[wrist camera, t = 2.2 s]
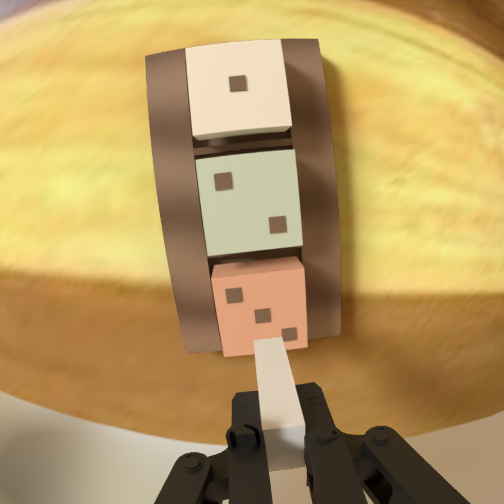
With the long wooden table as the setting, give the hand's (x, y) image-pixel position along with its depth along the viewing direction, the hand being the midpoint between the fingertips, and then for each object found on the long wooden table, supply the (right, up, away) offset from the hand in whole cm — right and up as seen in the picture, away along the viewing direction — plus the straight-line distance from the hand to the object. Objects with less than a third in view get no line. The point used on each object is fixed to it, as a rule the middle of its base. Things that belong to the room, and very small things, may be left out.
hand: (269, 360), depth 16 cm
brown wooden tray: (-1, +10, +8) cm, 13 cm away
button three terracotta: (0, +2, +8) cm, 8 cm away
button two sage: (-1, +9, +6) cm, 11 cm away
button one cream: (-2, +17, +4) cm, 17 cm away
